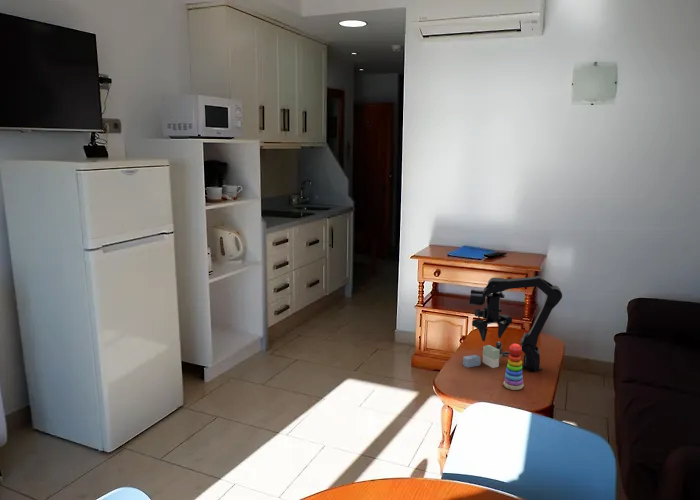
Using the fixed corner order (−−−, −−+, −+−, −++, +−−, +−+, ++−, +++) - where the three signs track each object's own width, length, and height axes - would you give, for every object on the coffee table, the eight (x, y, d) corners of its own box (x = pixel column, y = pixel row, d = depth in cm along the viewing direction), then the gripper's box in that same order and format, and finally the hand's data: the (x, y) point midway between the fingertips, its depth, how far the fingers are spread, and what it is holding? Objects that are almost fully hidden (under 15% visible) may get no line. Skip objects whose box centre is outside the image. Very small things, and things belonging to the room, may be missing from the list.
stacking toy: (499, 384, 226) (501, 341, 223) (515, 381, 229) (517, 339, 225) (511, 392, 219) (513, 348, 215) (527, 388, 222) (530, 345, 218)
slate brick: (475, 362, 249) (476, 354, 248) (480, 365, 246) (480, 357, 245) (462, 365, 246) (463, 356, 246) (467, 367, 243) (467, 359, 242)
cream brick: (498, 366, 244) (499, 358, 243) (492, 368, 243) (492, 359, 242) (488, 361, 250) (489, 353, 250) (482, 362, 249) (482, 354, 248)
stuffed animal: (513, 358, 251) (492, 341, 254) (500, 372, 255) (479, 355, 258) (516, 349, 261) (496, 333, 264) (504, 363, 265) (484, 347, 268)
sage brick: (499, 358, 243) (499, 349, 243) (493, 359, 242) (493, 351, 241) (488, 353, 250) (489, 344, 249) (482, 354, 248) (483, 346, 247)
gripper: (496, 299, 252) (495, 330, 255) (464, 304, 244) (463, 337, 247) (514, 305, 243) (512, 338, 246) (481, 311, 234) (479, 345, 237)
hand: (491, 339), depth 244 cm, fingers open, 9 cm apart
